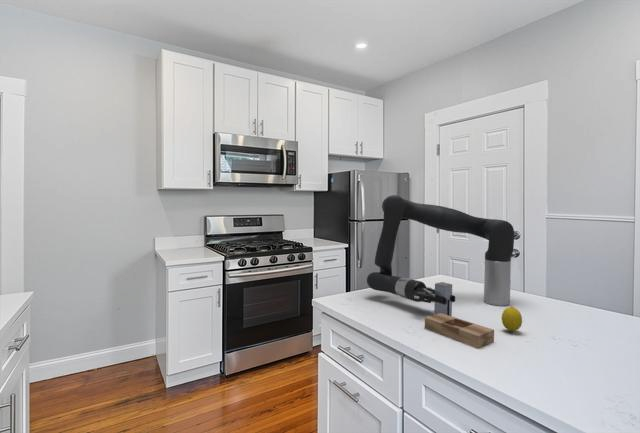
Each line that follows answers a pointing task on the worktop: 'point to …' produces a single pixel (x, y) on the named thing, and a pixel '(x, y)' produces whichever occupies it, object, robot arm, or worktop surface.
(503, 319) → the lemon
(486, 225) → the robot arm
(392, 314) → the worktop surface
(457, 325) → the wooden slotted base
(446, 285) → the block
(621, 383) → the worktop surface
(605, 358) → the worktop surface
